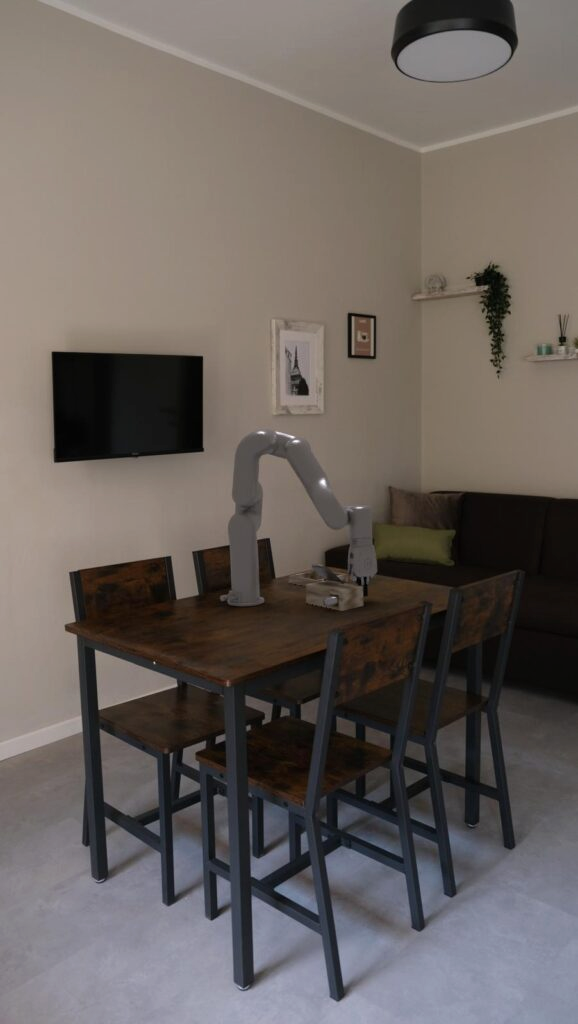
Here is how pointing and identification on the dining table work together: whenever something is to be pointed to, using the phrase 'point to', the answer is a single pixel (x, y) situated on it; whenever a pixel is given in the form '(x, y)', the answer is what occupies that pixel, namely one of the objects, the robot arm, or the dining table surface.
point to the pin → (331, 601)
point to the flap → (326, 573)
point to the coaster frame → (305, 579)
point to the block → (347, 594)
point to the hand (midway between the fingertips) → (362, 595)
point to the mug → (315, 574)
